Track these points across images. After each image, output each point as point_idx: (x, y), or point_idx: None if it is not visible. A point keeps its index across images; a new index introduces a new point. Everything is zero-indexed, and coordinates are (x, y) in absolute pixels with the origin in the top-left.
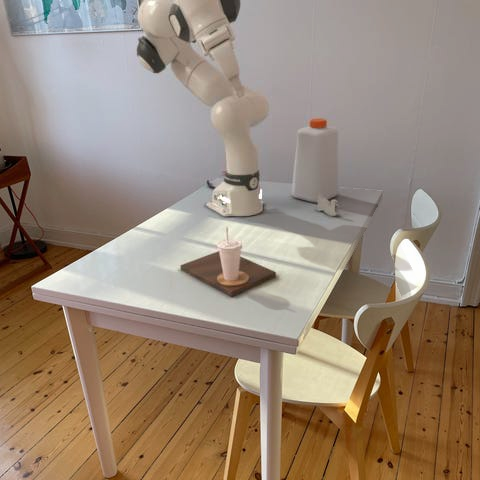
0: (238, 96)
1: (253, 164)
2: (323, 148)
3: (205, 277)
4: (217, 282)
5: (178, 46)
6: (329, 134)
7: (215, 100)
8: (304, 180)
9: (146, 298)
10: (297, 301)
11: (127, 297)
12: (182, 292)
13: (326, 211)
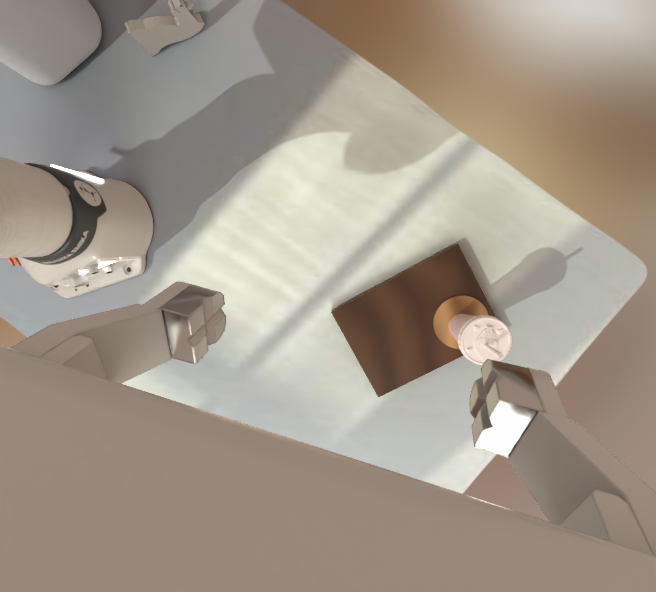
0: (221, 335)
1: (39, 181)
2: None
3: (439, 364)
4: None
5: None
6: None
7: None
8: (33, 34)
9: (461, 455)
10: (550, 234)
11: (449, 480)
12: (459, 401)
13: (176, 39)
